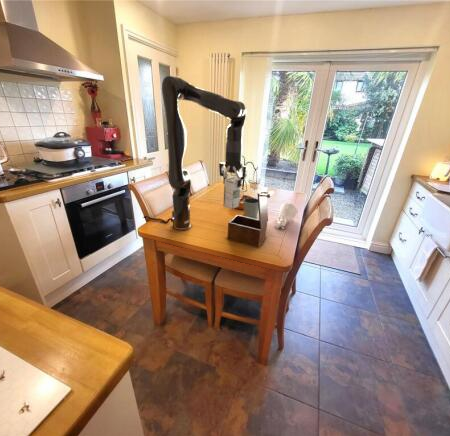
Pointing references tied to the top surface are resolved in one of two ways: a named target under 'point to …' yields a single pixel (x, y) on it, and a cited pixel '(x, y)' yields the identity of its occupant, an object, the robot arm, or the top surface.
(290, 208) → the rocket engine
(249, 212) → the grey cup
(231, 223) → the case
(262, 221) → the case lid
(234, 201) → the syrup box
